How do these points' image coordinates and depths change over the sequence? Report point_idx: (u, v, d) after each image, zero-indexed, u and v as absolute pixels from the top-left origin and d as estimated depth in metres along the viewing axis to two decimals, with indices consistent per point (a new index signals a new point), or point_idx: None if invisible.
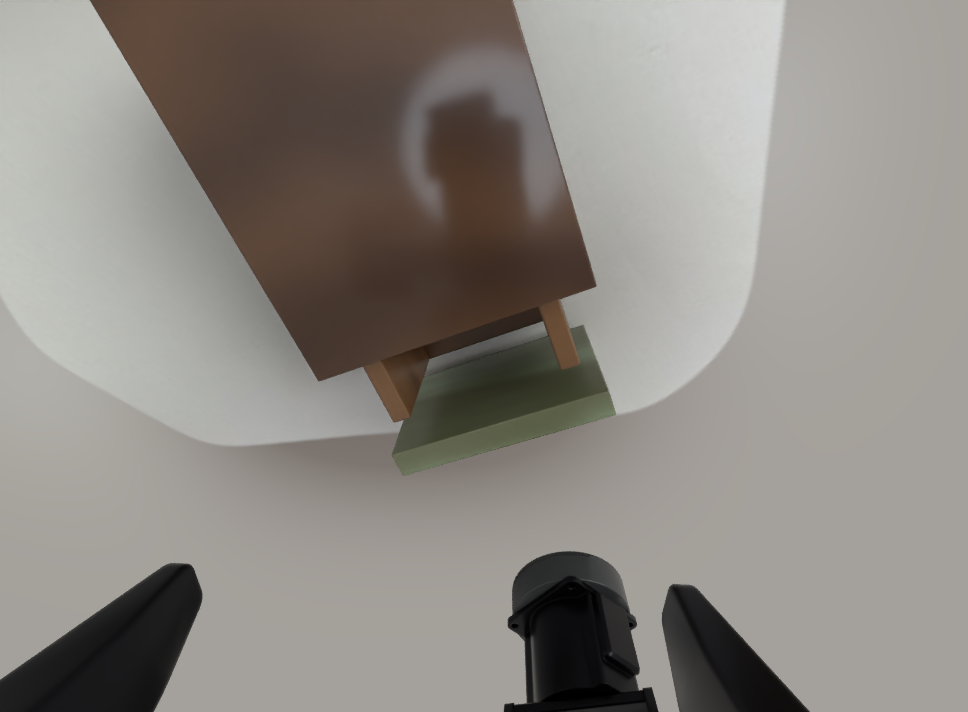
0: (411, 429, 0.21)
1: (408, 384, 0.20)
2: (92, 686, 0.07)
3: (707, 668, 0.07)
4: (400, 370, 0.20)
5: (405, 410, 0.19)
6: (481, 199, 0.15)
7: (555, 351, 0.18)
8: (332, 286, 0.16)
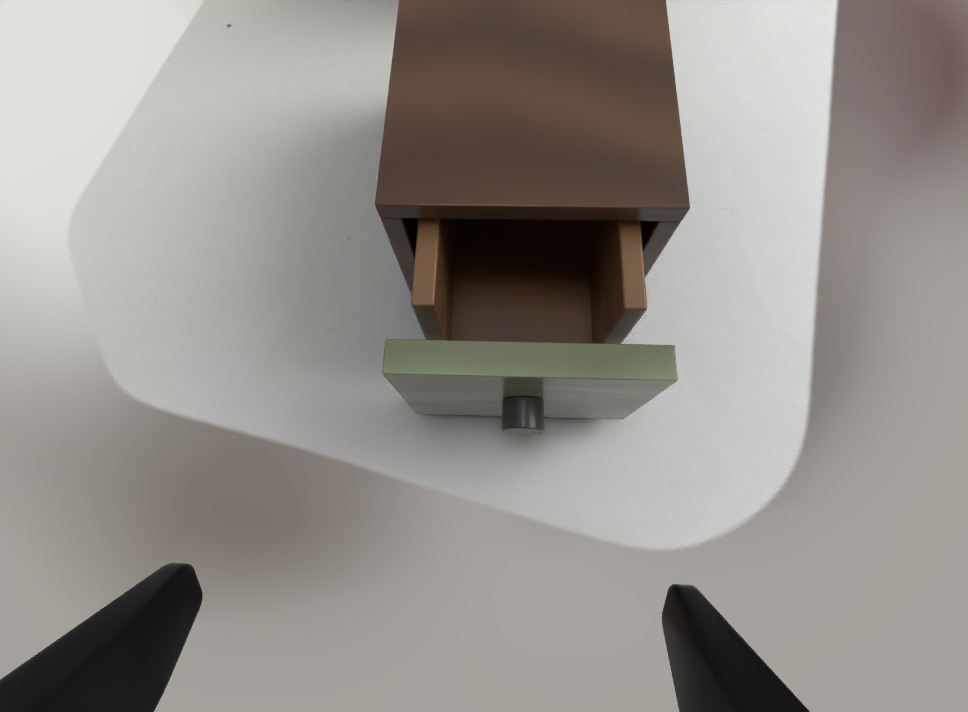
0: None
1: (440, 299, 0.18)
2: (92, 686, 0.07)
3: (707, 668, 0.07)
4: (441, 279, 0.18)
5: (433, 294, 0.16)
6: (607, 113, 0.17)
7: (624, 285, 0.16)
8: (447, 131, 0.17)
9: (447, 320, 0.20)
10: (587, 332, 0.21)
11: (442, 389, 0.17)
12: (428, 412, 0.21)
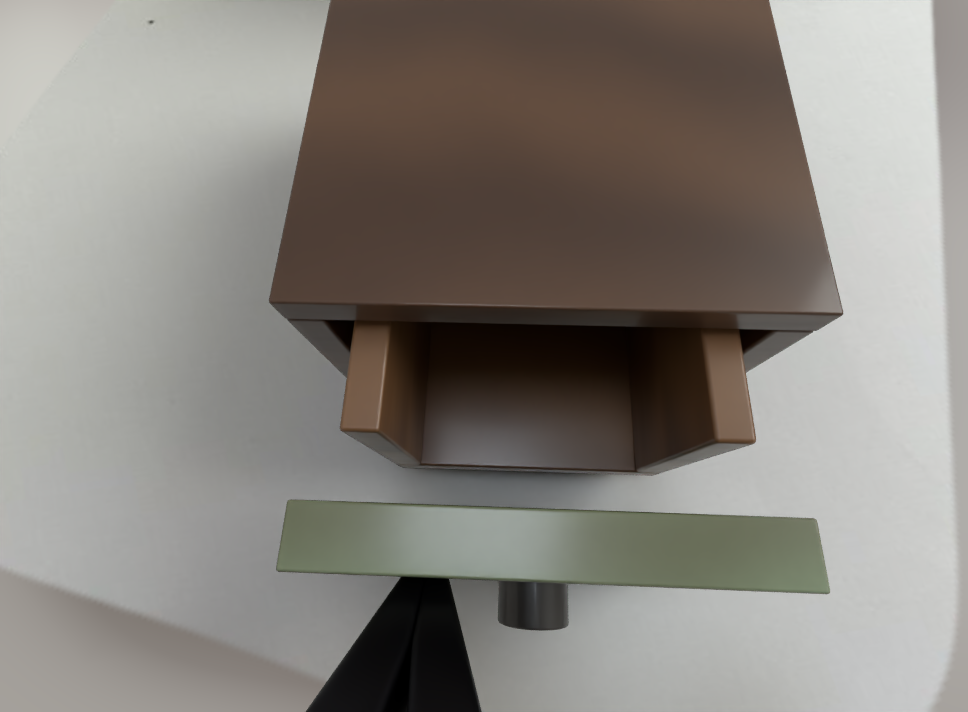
0: None
1: (397, 406, 0.11)
2: (395, 702, 0.07)
3: None
4: (399, 371, 0.11)
5: (378, 411, 0.09)
6: (679, 141, 0.10)
7: (712, 397, 0.09)
8: (404, 170, 0.10)
9: (416, 420, 0.13)
10: (625, 431, 0.15)
11: None
12: None
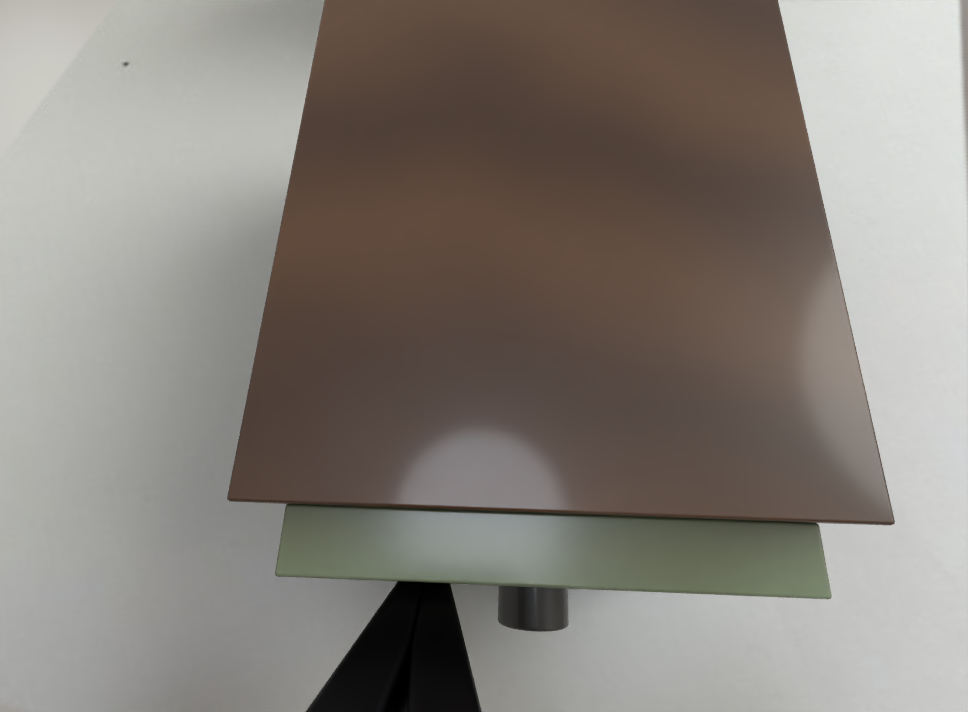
0: None
1: None
2: (395, 702, 0.07)
3: None
4: None
5: None
6: (701, 292, 0.09)
7: None
8: (385, 327, 0.09)
9: None
10: None
11: None
12: None
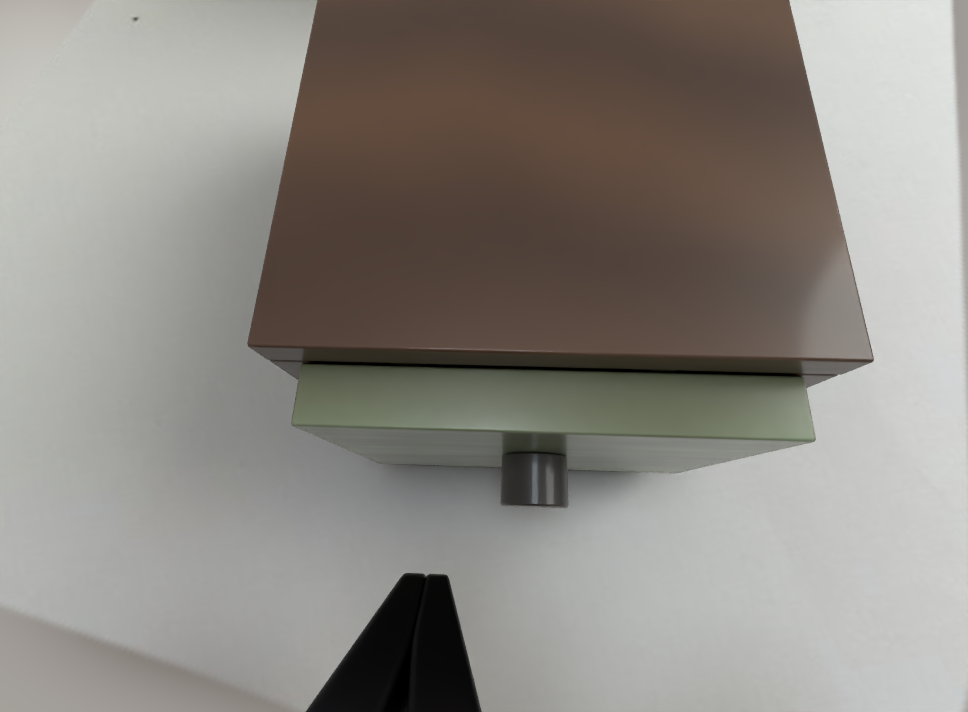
0: None
1: None
2: (395, 702, 0.07)
3: None
4: None
5: None
6: (693, 164, 0.09)
7: None
8: (395, 197, 0.09)
9: None
10: None
11: (404, 443, 0.10)
12: (394, 462, 0.15)
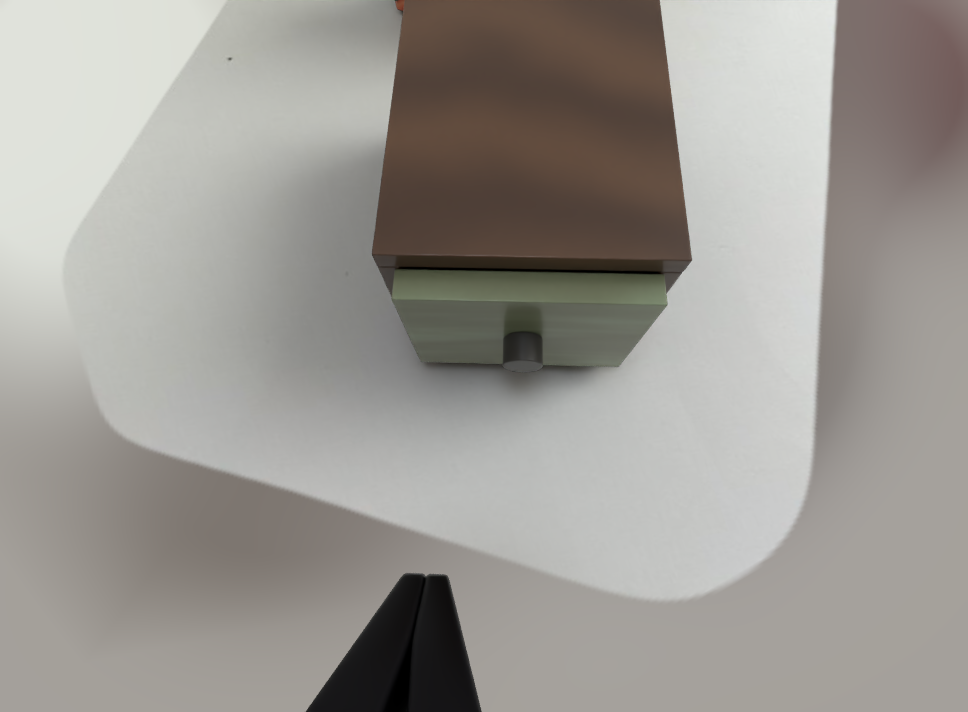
0: None
1: None
2: (395, 702, 0.07)
3: (411, 654, 0.07)
4: None
5: None
6: (607, 162, 0.17)
7: None
8: (445, 179, 0.17)
9: (451, 269, 0.21)
10: None
11: (447, 322, 0.18)
12: (432, 359, 0.22)
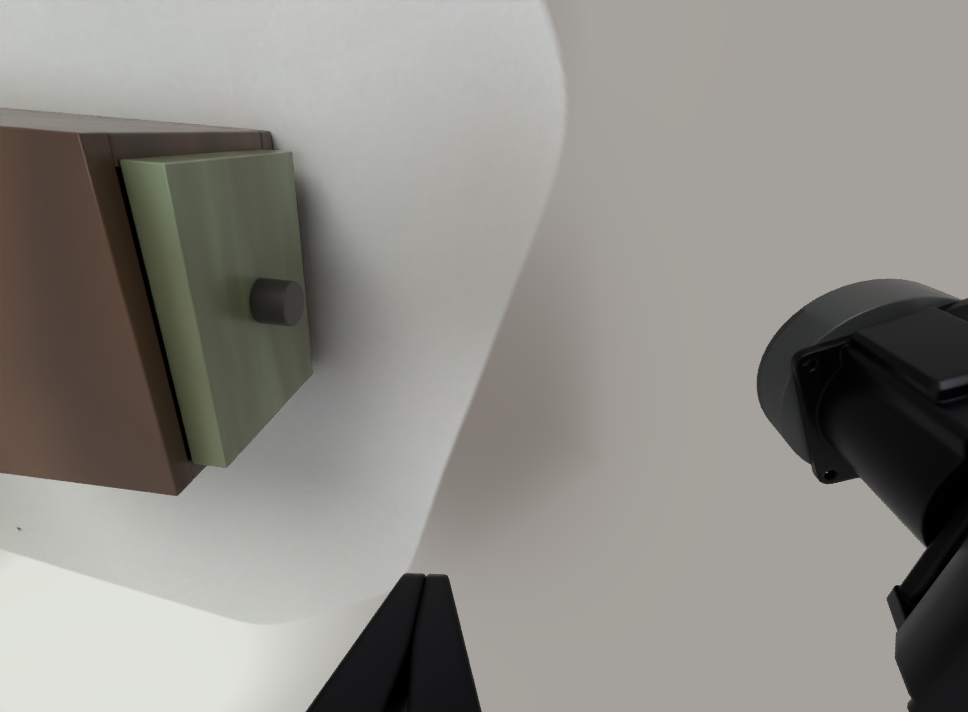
0: None
1: None
2: (395, 702, 0.07)
3: None
4: None
5: None
6: None
7: None
8: (64, 425, 0.14)
9: None
10: None
11: (251, 393, 0.17)
12: (308, 365, 0.21)
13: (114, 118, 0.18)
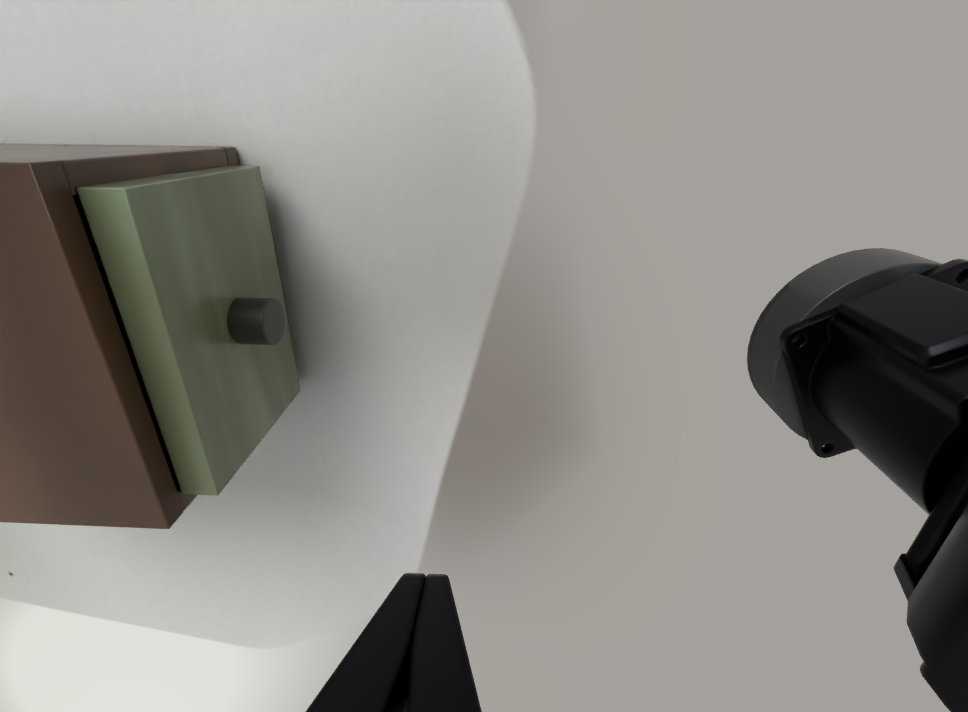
0: None
1: None
2: (395, 702, 0.07)
3: None
4: None
5: None
6: None
7: None
8: (44, 466, 0.14)
9: None
10: None
11: (237, 417, 0.16)
12: (295, 382, 0.21)
13: (72, 145, 0.17)
